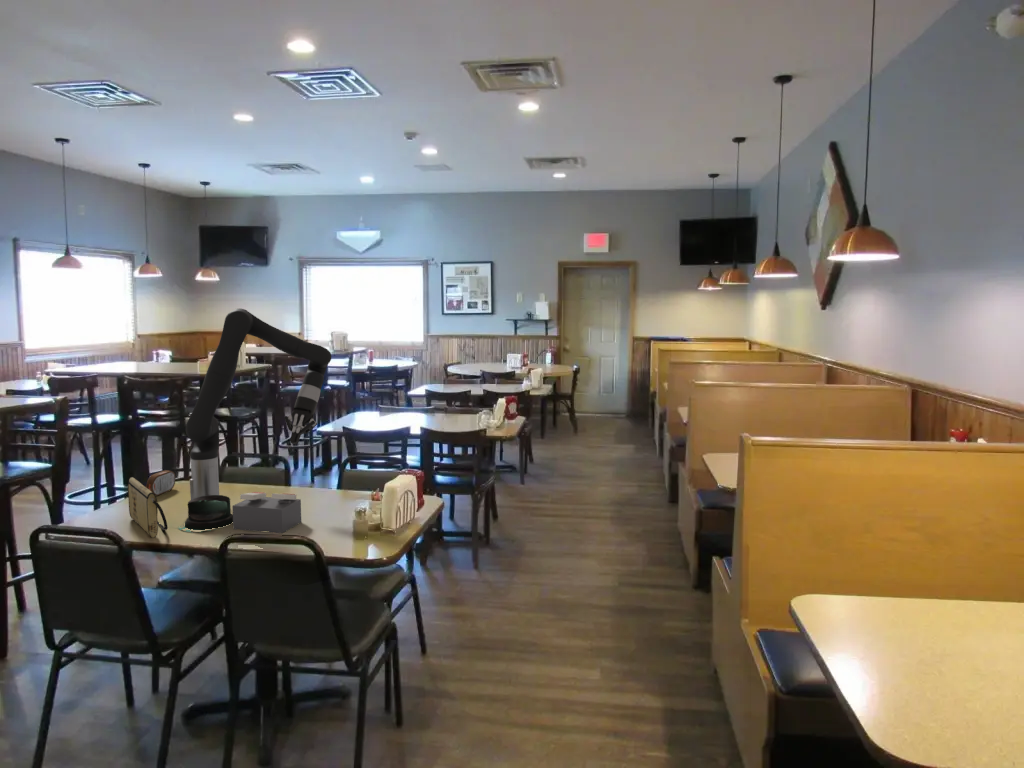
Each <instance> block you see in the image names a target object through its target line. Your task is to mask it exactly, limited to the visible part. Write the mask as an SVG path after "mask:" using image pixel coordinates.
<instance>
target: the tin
mask: <svg viewBox="0 0 1024 768" xmlns="http://www.w3.org/2000/svg"><path fill="white" fill-rule="evenodd" d="M175 484H176V474H175V472H174V471H172V470H168V469H167V470H166V469H164V470H162V471H159V472H156V473H153V474H151V475H150V476H149V477H148V479H147V482H146V485H145V487H146V488H147V489H149V490H150V491H151V492H152V493H154V494H155V496H156V497H157V496H160V495H162V494H165V493H168V492H170V491H171V490H173V488H174V487H175ZM169 490H170V491H169ZM167 491H168V492H167Z"/></svg>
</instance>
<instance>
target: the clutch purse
mask: <svg viewBox="0 0 1024 768" xmlns="http://www.w3.org/2000/svg"><path fill="white" fill-rule="evenodd" d="M127 495H128V512H129V517H130V518H131V519H132V520H134V522H135V523H137V525H139V526H140V528H142V529H143V530H144V531H145V532H146V533H147V534H148V535H149V537H150V538H152V537H154V538H156V537H157V535H158V531H159V527H160V528H161V530H162V531H167V530H169V529H168V528H169V527H168V522H167V518H166V515H165V513H164V511H163V508H162V507H161V505H160V504H159V502H158V500H157V496H155V494H154V493H152V492H151V491H150V490H149V489H147V488H146V485H143V483H141V482H140V481H139V480H137V479H136V478H135V477H134V476H131V477H129V478H128V480H127ZM158 511H159V513H160V516H161V519H162V522H163V525H162V524H161V523H160V522H159V521H158ZM159 523H160V524H159Z"/></svg>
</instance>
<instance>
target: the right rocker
mask: <svg viewBox="0 0 1024 768" xmlns="http://www.w3.org/2000/svg"><path fill="white" fill-rule="evenodd" d="M270 497H271V498H274V499H297V494H296V493H271V496H270Z"/></svg>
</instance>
